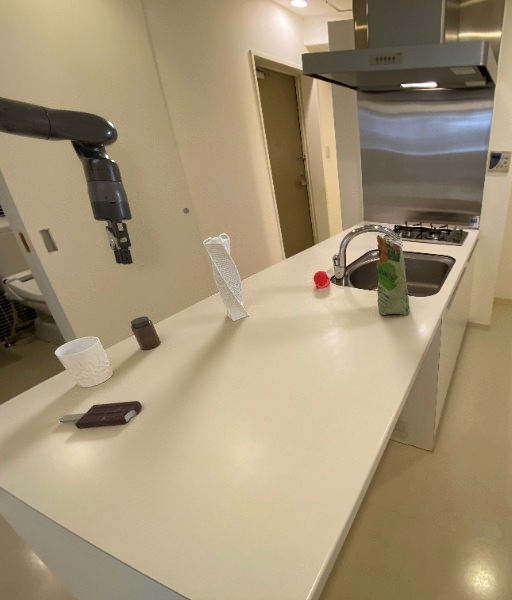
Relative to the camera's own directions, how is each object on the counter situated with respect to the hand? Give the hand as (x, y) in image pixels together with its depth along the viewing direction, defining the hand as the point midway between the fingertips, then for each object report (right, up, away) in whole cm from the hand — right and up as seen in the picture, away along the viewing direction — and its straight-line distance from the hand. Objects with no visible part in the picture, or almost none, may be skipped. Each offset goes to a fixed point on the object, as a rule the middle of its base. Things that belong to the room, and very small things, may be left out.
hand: (124, 263), depth 87 cm
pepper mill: (+2, -23, +6) cm, 24 cm away
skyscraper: (+20, -15, +21) cm, 33 cm away
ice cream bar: (+10, -35, -18) cm, 41 cm away
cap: (+44, -5, +40) cm, 60 cm away
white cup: (-2, -30, -6) cm, 30 cm away
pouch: (+72, -14, +21) cm, 76 cm away
